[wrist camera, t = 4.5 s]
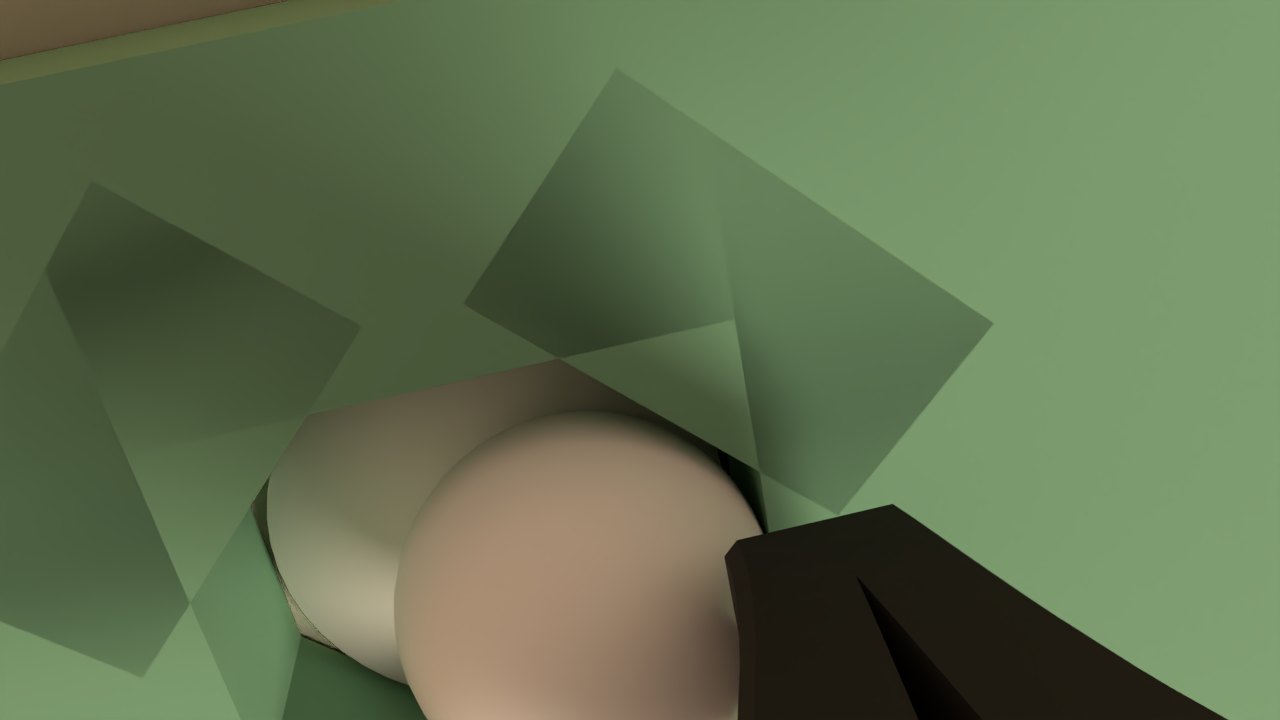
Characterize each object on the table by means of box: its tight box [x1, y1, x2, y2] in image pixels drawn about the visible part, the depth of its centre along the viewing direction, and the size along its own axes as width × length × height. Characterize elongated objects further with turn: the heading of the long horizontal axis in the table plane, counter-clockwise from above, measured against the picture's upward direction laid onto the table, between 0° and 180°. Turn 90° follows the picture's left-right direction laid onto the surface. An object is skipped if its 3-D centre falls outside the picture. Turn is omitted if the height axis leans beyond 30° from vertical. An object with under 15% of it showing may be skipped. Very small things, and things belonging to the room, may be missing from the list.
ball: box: [394, 411, 763, 720], centre depth 10 cm, size 3×3×3 cm
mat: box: [0, 0, 1280, 720], centre depth 10 cm, size 17×10×2 cm, turn 100°
